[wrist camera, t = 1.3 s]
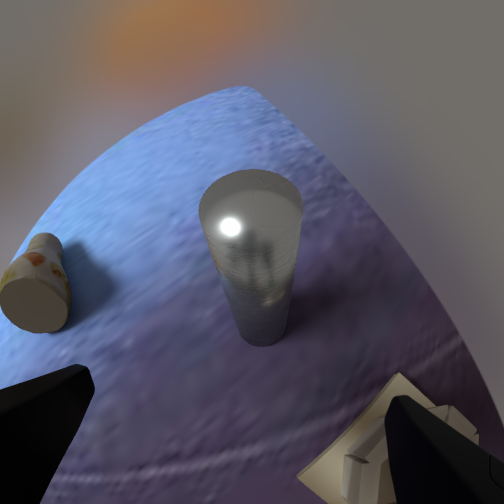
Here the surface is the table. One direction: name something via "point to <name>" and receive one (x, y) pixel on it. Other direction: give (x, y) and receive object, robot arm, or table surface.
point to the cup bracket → (370, 451)
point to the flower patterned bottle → (37, 287)
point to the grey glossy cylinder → (254, 248)
